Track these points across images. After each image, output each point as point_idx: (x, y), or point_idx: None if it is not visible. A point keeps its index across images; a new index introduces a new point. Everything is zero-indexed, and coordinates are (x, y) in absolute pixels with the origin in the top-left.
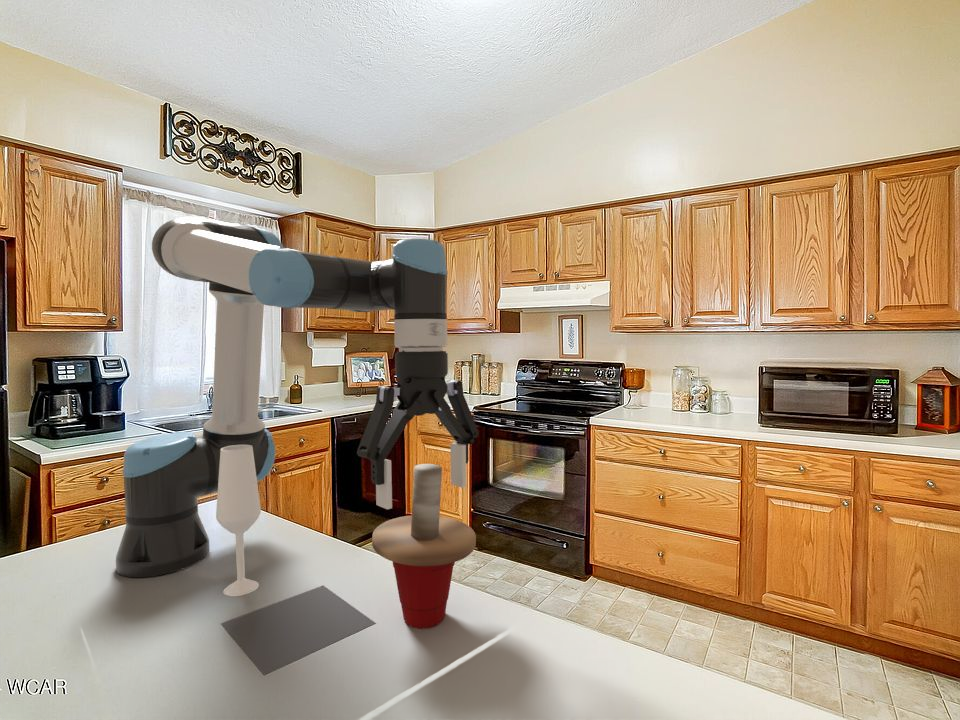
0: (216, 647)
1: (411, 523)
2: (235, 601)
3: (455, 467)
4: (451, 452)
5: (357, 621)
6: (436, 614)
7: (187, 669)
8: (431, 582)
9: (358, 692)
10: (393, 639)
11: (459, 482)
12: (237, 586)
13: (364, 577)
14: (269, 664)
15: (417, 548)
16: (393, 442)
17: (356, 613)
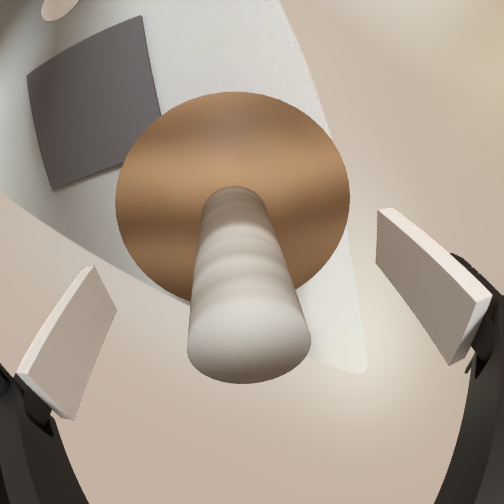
0: (23, 115)
1: (202, 216)
2: (49, 22)
3: (408, 266)
4: (446, 280)
5: None
6: None
7: (8, 144)
8: None
9: (125, 250)
10: None
11: (383, 256)
12: (49, 5)
13: (209, 9)
14: (55, 175)
15: (192, 265)
16: (68, 474)
17: (153, 111)
